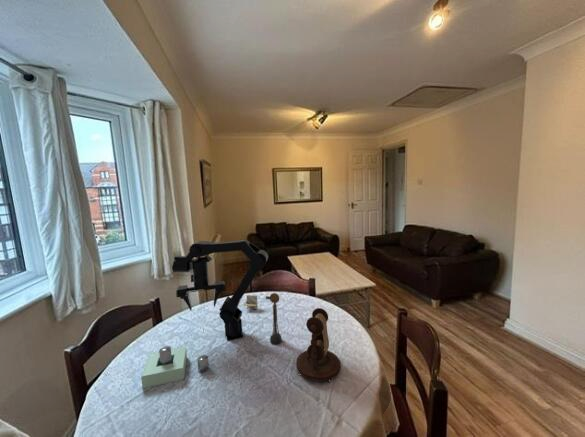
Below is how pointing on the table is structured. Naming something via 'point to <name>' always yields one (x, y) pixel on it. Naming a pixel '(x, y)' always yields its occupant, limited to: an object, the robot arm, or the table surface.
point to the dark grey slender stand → (275, 320)
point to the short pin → (203, 363)
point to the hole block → (164, 368)
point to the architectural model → (251, 302)
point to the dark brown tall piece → (318, 351)
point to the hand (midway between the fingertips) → (202, 308)
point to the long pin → (165, 356)
